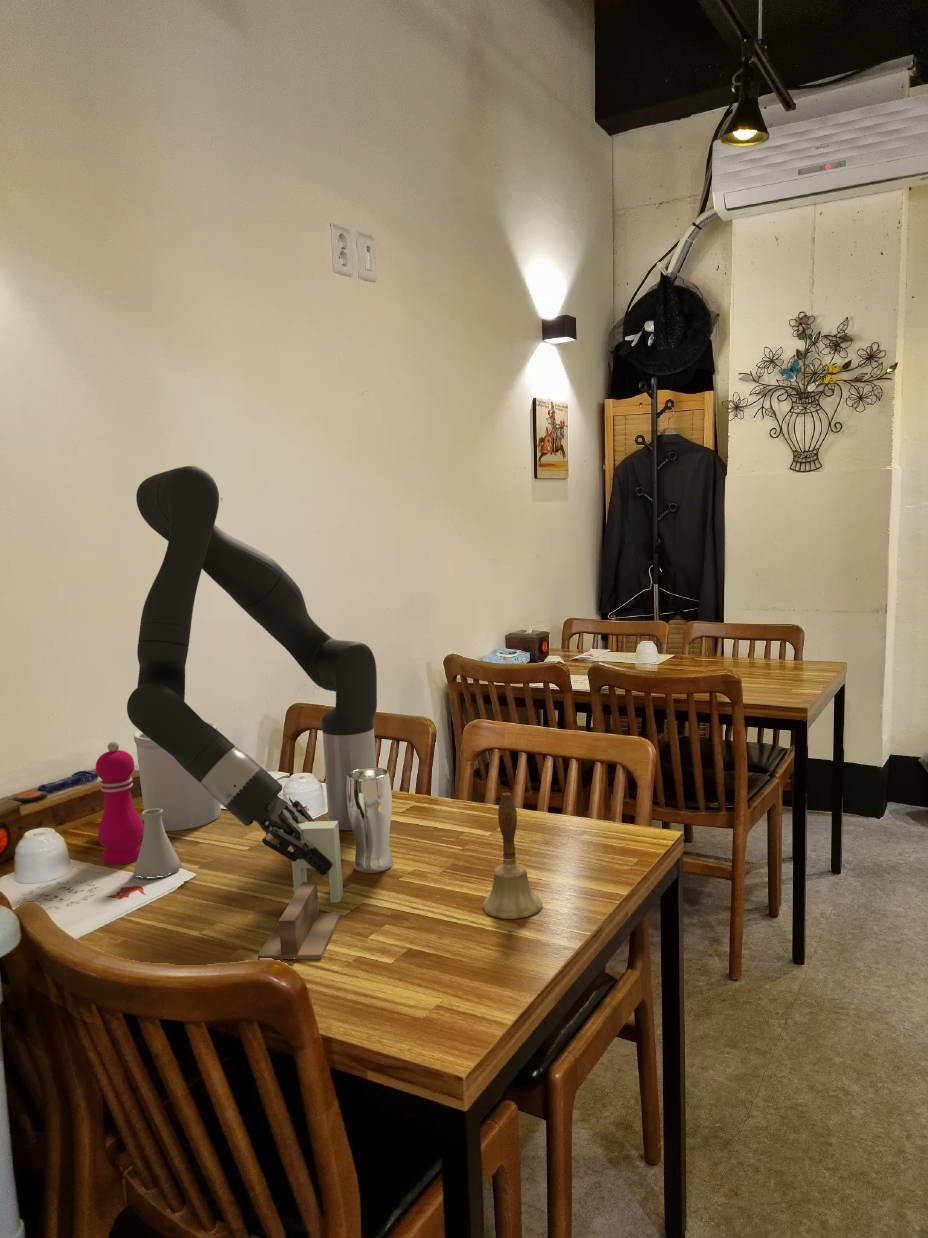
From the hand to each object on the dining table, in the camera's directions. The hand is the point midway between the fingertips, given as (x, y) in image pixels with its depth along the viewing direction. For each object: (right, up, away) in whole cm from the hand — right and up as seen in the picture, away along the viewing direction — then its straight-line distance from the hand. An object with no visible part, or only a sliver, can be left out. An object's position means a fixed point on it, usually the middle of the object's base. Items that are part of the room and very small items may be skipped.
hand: (330, 865), depth 129 cm
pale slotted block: (-2, -5, +1) cm, 5 cm away
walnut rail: (-2, -6, -11) cm, 13 cm away
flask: (-30, -5, +15) cm, 34 cm away
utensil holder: (-34, -3, +41) cm, 53 cm away
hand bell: (+26, -4, -5) cm, 27 cm away
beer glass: (+5, -4, +12) cm, 14 cm away
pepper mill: (-38, -5, +21) cm, 44 cm away
